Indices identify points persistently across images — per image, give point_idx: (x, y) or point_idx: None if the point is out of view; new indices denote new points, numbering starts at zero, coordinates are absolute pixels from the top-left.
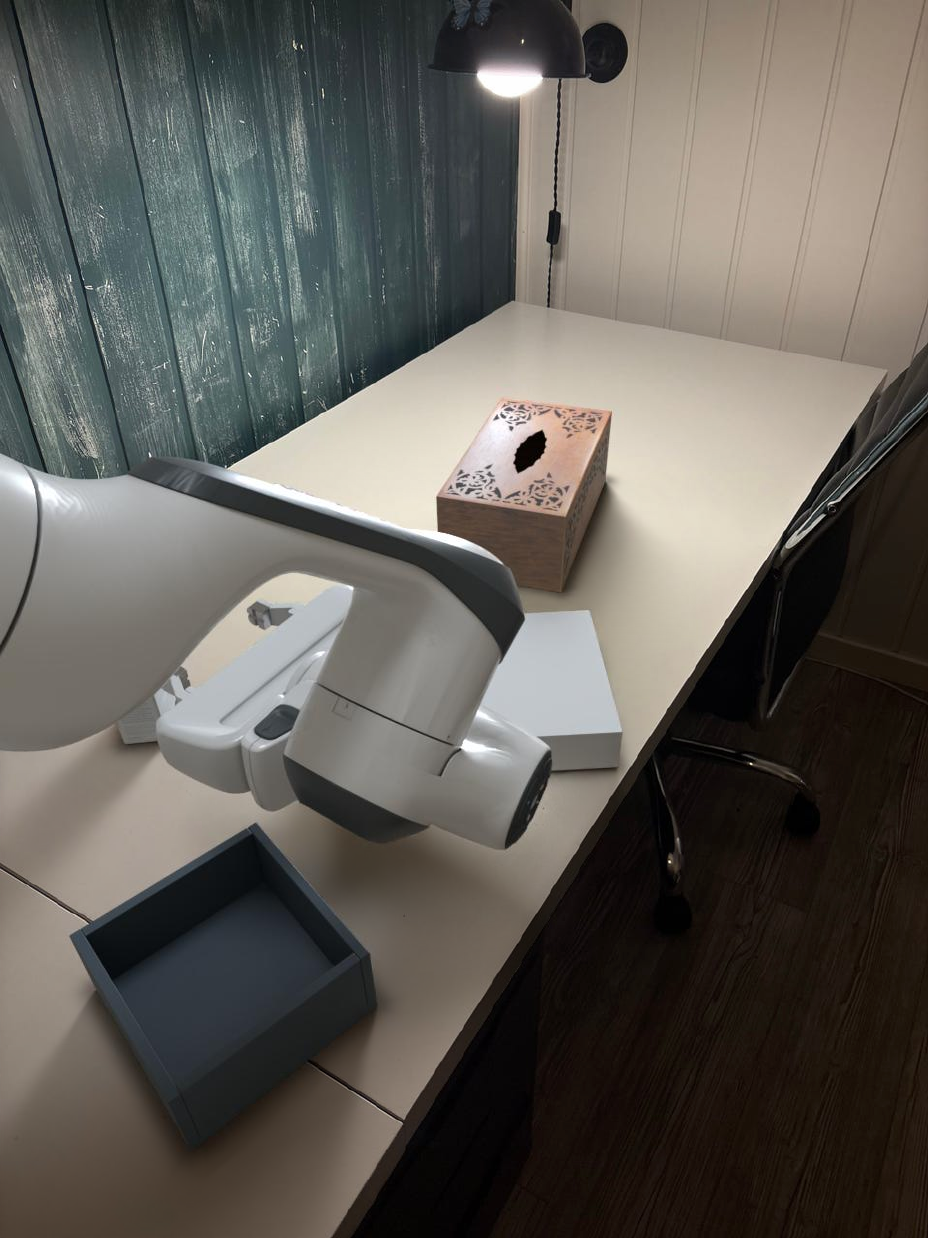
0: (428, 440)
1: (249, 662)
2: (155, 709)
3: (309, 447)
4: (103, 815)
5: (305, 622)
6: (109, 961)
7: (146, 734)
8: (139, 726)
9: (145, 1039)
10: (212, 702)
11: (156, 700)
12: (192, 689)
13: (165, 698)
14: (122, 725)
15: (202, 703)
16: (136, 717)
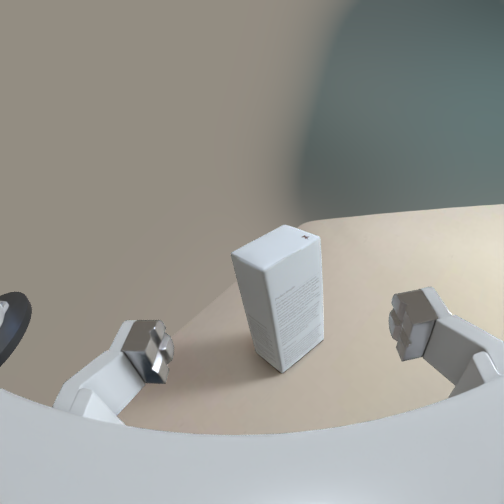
0: None
1: (182, 491)
2: (274, 345)
3: (500, 213)
4: (186, 395)
5: (499, 447)
6: None
7: (268, 358)
8: (263, 348)
9: None
10: (16, 464)
11: (278, 338)
12: (82, 401)
13: (299, 338)
14: (254, 338)
15: (12, 444)
16: (262, 340)
